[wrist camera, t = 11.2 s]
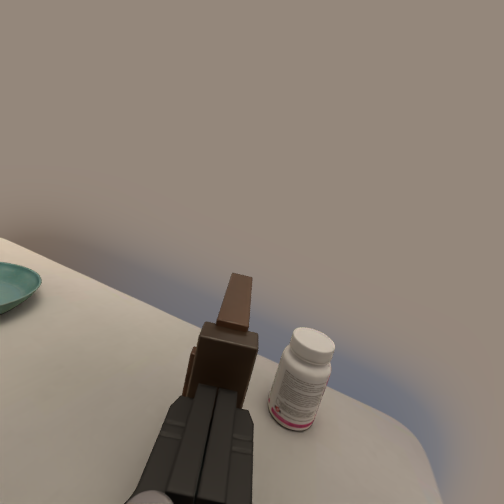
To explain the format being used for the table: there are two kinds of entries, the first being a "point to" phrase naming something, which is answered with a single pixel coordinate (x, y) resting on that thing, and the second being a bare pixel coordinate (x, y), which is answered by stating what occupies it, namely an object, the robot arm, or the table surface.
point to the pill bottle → (301, 379)
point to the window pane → (227, 345)
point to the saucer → (16, 285)
